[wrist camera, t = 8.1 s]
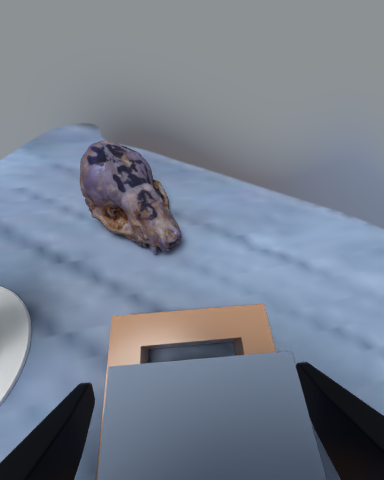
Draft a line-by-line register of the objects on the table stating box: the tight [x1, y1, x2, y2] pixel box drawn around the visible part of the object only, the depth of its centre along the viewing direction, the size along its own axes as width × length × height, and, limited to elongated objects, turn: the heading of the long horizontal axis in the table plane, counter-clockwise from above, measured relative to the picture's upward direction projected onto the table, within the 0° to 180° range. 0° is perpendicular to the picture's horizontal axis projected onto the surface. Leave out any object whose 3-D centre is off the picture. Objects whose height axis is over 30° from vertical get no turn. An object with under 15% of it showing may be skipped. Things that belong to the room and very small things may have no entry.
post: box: [97, 351, 327, 480], centre depth 9 cm, size 4×4×13 cm
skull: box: [80, 141, 181, 255], centre depth 20 cm, size 12×8×6 cm, turn 33°
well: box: [96, 304, 276, 480], centre depth 14 cm, size 10×10×3 cm
